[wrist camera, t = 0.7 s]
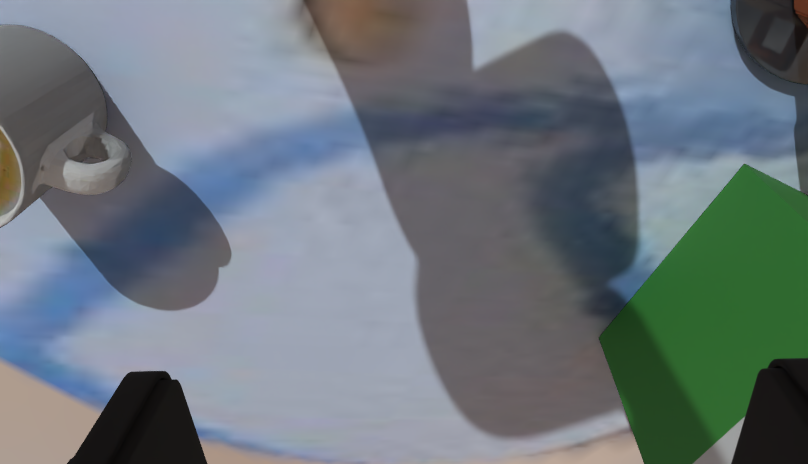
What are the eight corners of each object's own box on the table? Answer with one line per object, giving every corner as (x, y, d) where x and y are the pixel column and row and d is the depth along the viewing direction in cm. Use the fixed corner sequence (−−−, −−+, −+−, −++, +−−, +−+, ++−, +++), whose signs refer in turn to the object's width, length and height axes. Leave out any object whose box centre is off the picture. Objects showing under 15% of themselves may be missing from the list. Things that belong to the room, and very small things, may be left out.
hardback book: (671, 367, 52) (830, 693, 31) (598, 337, 51) (714, 657, 30) (826, 204, 44) (1183, 503, 23) (744, 163, 42) (1044, 441, 22)
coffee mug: (-54, 119, 43) (-176, 182, 34) (-25, -7, 38) (-156, 28, 30) (128, 210, 46) (59, 288, 37) (175, 104, 41) (109, 164, 33)
